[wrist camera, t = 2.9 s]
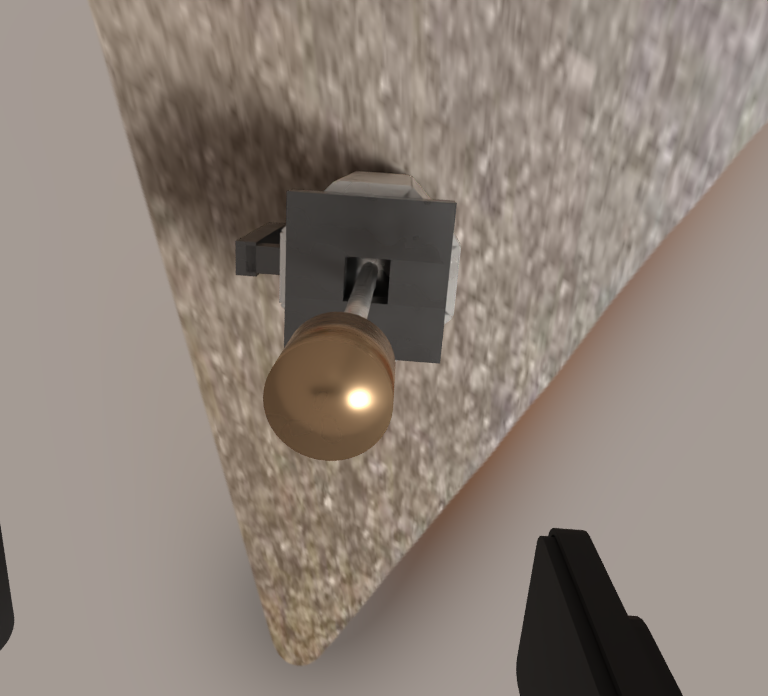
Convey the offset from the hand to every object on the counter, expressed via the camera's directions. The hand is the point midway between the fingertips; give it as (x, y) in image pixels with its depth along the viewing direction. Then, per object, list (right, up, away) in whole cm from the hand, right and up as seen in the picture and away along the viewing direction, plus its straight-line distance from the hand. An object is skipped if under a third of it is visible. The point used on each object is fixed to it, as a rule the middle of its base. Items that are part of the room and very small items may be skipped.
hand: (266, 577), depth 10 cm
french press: (0, +12, +36) cm, 38 cm away
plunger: (+1, +9, +25) cm, 26 cm away
